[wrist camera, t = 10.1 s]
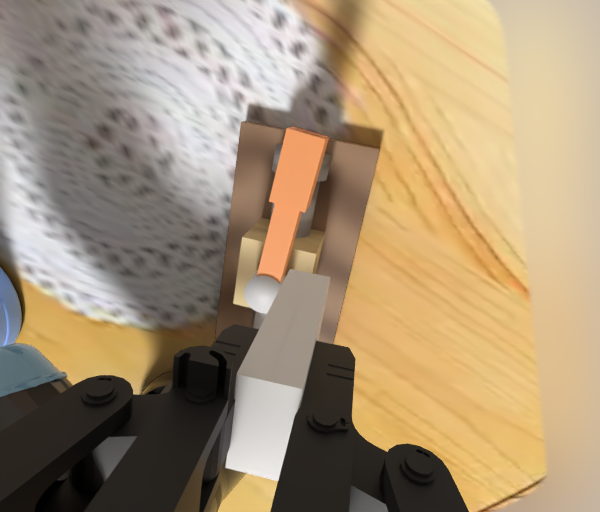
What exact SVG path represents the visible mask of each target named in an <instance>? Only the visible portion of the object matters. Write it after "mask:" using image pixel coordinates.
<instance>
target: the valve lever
mask: <svg viewBox="0 0 600 512" xmlns="http://www.w3.org/2000/svg"><path fill="white" fill-rule="evenodd" d="M328 140H329V137H328V136H325V135H321V134H318V133H314V132H311V131H308V130H304V129H301V128H297V127H294V126H292V127H289V128H287V129H286V133H285V137H284V141H283V145H282V149H281V153H280V158H279V162H278V166H277V170H276V174H275V178H274V182H273V186H272V190H271V195H270V199H269V202H272V203H275V205H274V209H273V213H272V217H271V221H270V225H269V229H268V233H267V237H266V241H265V245H264V249H263V253H262V257H261V261H260V265H259V269H258V271H256V272H255V274H254V275H253V276H252V278H251V279H250V281H249V282H248V283H247V285H246V287H245V290H244V296H245V300H246V302H247V304H248V305H249V306H250V307H251V308H252V309H253V310H255V311H257V312H259V313H264V314H267V313H268V311H269V309H270V307H271V305H272V303H273V301H274V299H275V297H276V295H277V293H278V291H279V289H280V287H281V286H282V284H283V282H284V280H285V278H286V276H285V272H286V268H287V265H288V261H289V258H290V254H291V250H292V247H293V243H294V240H295V236H296V232H297V229H298V225H299V221H300V218H301V214H302V212H304V213H305V212H306V211H307V209H308V208H309V206H310V203H311V200H312V196H313V193H314V189H315V186H316V182H317V179H318V175H319V171H320V168H321V164H322V161H323V157H324V154H325V150H326V147H327V143H328Z"/></svg>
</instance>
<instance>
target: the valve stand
mask: <svg viewBox="0 0 600 512" xmlns="http://www.w3.org/2000/svg"><path fill="white" fill-rule="evenodd" d="M285 133H286V129H283V128H278V127H273V126H268V125H263V124H258V123H253V122H248V121H244V122H241V128H240V136H239V145H238V153H237V161H236V169H235V177H234V186H233V194H232V202H231V210H230V218H229V226H228V235H227V243H226V251H225V259H224V267H223V276H222V284H221V292H220V300H219V308H218V316H217V325H216V333H215V339H217V338H218V336H219V335H220V333H221V332H222V331H223V330H225V329H226V328H228V327H230V326H232V325H233V324H237V325H241V326H246V327H251V328H255V329H260V327H261V325H262V323H263V321H264V319H265V317H266V315H267V314H264V313H259V312H257V311H255V310H253V309H252V308H251V307H250V306H249V305H248V304H247V302H246V300H245V296H244V290H245V287H246V285H247V283H248V282H249V281H250V279H251V278H252V276H253V275H254V274H255V272H256V271H258V269H259V265H260V261H261V257H262V253H263V249H264V245H265V241H266V237H267V233H268V229H269V225H270V221H271V217H272V213H273V209H274V205H275V203H272V202H269V199H270V195H271V190H272V186H273V182H274V178H275V174H276V170H277V166H278V162H279V158H280V153H281V149H282V145H283V141H284V137H285ZM379 150H380V148H377V147H372V146H367V145H362V144H357V143H352V142H347V141H342V140H337V139H332V138H329V140H328V143H327V147H326V150H325V154H324V157H323V161H322V164H321V168H320V171H319V175H318V179H317V182H316V186H315V189H314V193H313V196H312V200H311V203H310V206H309V208H308V209H307V211H306V212H305V213H304V212H302V214H301V218H300V221H299V225H298V229H297V232H296V236H295V240H294V243H293V247H292V250H291V254H290V258H289V261H288V265H287V268H286V272H285V276H287V274H288V272H289V270H290V269H293V270H298V271H303V272H308V273H312V274H317V275H322V276H327V277H330V283H329V288H328V293H327V298H326V303H325V309H324V314H323V319H322V324H321V330H320V335H319V340H318V341H321V342H325V343H330V344H333V341H334V337H335V333H336V329H337V325H338V320H339V316H340V312H341V308H342V304H343V300H344V296H345V291H346V287H347V283H348V279H349V275H350V271H351V267H352V262H353V258H354V254H355V250H356V246H357V242H358V237H359V233H360V229H361V225H362V221H363V217H364V213H365V208H366V204H367V200H368V196H369V192H370V188H371V184H372V179H373V175H374V171H375V167H376V163H377V159H378V155H379Z"/></svg>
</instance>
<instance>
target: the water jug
mask: <svg viewBox="0 0 600 512" xmlns="http://www.w3.org/2000/svg"><path fill="white" fill-rule="evenodd" d="M21 322H22V313H21V306H20V302H19V298H18V295H17V293H16V290H15V288H14V286H13V284H12V282H11V281H10V279H9V278H8V276H7V275H6V273H5V272H4V271H3V269H2V268H1V267H0V347H2V346H5V345H9V344H14V342H15V341H16V339H17V337H18V335H19V332H20V328H21Z"/></svg>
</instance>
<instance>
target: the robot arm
mask: <svg viewBox="0 0 600 512" xmlns="http://www.w3.org/2000/svg"><path fill="white" fill-rule="evenodd" d="M329 283H330V277H327V276H322V275H317V274H312V273H308V272H303V271H298V270H293V269H290V270H289V272H288V274H287V276H286V278H285V280H284V282H283V284H282V286H281V287H280V289H279V291H278V293H277V295H276V297H275V299H274V301H273V303H272V305H271V307H270V309H269V311H268V313H267V315H266V317H265V319H264V321H263V323H262V325H261V327H260V329H255V328H251V327H246V326H241V325H237V324H233V325H232V326H230V327H228V328H226V329H225V330H223V331H222V332H221V333H220V335H219V336H218V338H217V339H216V342H214V344H213V345H212V347H208V346H196V347H190V348H187V349H184V350H181V351H180V352H179V353H177V354H176V355H175V356H174V366H173V371H171V372H168V373H165V374H163V375H161V376H159V377H157V378H156V379H154V380H153V381H152V382H151V383H150V384H149V385H148V386H147V388H146V389H145V390H144V391H143V393H142V394H141V395H133V389H132V387H131V384H130V383H129V382H128V381H126V380H125V379H123V378H120V377H117V376H113V375H100V376H96V377H91V378H87V379H85V380H83V381H81V382H79V383H77V384H75V385H72V384H71V383H70V382H69V380H68V379H67V378H66V377H68V376H67V374H66V373H65V372H60V371H59V370H58V369H57V368H56V367H55V366H54V365H53V364H52V363H51V362H50V361H49V360H48V359H47V358H46V357H45V356H44V355H43V354H42V353H41V352H40V351H39V350H37V349H36V348H35V347H33V346H31V345H28V344H23V343H15V344H9V345H5V346H2V347H0V512H217V511H218V509H219V506H220V504H221V502H222V501H223V500H224V499H225V497H226V496H227V495H228V494H229V493H230V492H231V491H232V489H233V488H234V487H235V486H236V485H237V484H238V482H239V481H240V480H241V479H242V478H243V477H244V476H245V474H246V473H248V474H252V475H256V476H260V477H264V478H268V479H272V480H276V481H278V484H277V488H276V492H275V496H274V500H273V504H272V508H271V512H469V511H468V509H467V507H466V505H465V503H464V500H463V498H462V496H461V494H460V492H459V490H458V488H457V486H456V484H455V482H454V480H453V478H452V476H451V474H450V472H449V470H448V469H447V467H446V466H445V464H444V463H443V461H442V460H441V459H439V458H438V457H437V456H436V455H435V454H433V453H432V452H431V451H428V450H426V449H424V448H422V447H420V446H416V445H411V444H400V445H396V446H394V447H392V448H391V449H389V451H388V452H386V451H384V450H382V449H380V448H378V447H376V446H374V445H373V444H371V443H370V442H368V441H367V440H365V439H364V438H363V437H362V436H361V435H360V434H359V433H358V431H357V430H356V429H355V427H354V425H353V422H352V402H353V387H354V370H355V357H354V356H353V354H352V352H351V350H350V348H348V347H344V346H339V345H335V344H330V343H325V342H321V341H318V340H319V335H320V330H321V324H322V319H323V314H324V309H325V303H326V298H327V293H328V288H329Z"/></svg>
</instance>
